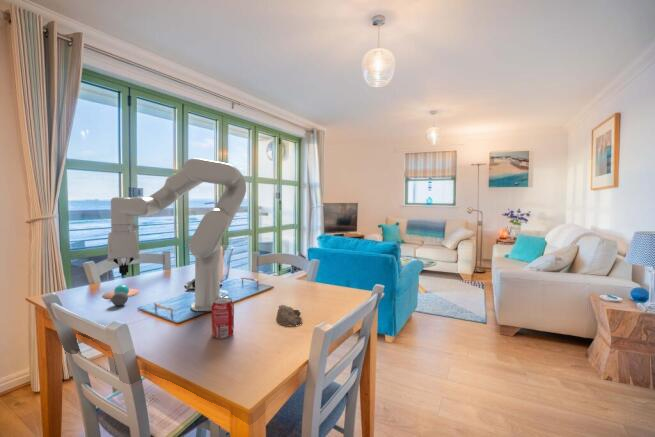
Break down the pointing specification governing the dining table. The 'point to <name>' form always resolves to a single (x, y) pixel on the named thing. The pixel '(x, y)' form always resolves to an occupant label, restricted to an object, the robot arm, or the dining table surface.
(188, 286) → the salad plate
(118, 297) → the grey rounded lump
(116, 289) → the object ball
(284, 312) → the oyster shell
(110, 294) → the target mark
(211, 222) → the robot arm
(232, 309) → the soda can
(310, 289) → the dining table surface
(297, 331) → the dining table surface
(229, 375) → the dining table surface
